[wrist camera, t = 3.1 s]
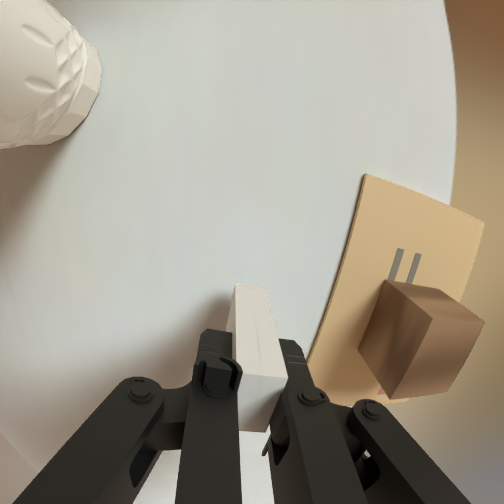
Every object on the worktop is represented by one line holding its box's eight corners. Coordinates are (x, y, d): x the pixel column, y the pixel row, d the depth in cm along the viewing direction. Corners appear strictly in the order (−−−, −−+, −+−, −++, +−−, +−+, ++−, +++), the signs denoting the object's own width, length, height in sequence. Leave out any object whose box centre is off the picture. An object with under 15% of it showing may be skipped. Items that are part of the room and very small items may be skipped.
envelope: (364, 173, 14) (367, 173, 14) (482, 222, 15) (485, 222, 15) (290, 402, 18) (290, 405, 18) (405, 399, 19) (407, 401, 19)
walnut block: (385, 279, 15) (432, 318, 11) (438, 289, 16) (485, 321, 11) (357, 349, 17) (389, 400, 12) (411, 350, 17) (447, 391, 13)
